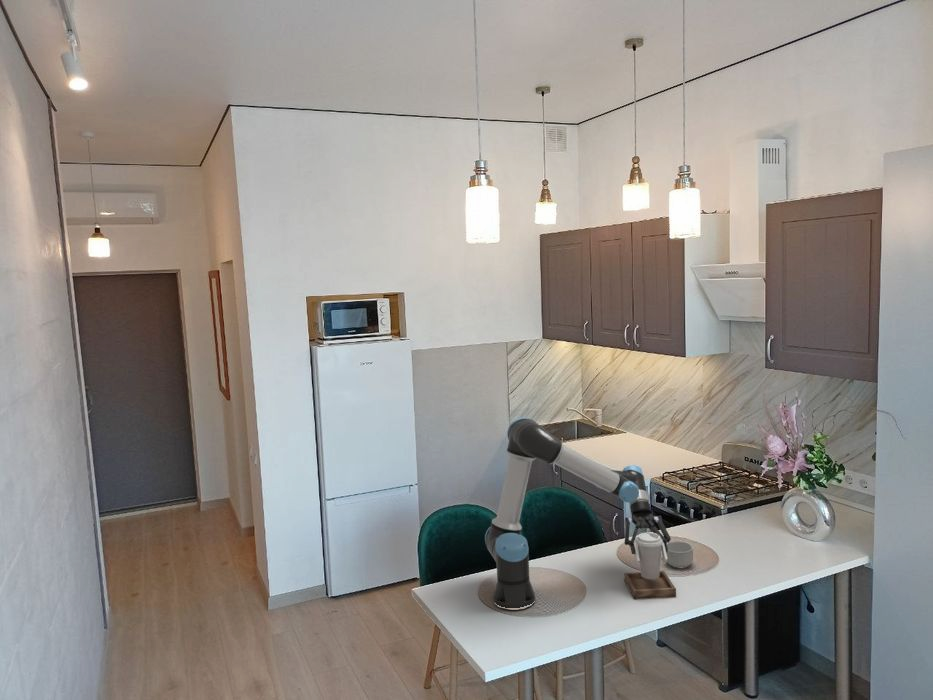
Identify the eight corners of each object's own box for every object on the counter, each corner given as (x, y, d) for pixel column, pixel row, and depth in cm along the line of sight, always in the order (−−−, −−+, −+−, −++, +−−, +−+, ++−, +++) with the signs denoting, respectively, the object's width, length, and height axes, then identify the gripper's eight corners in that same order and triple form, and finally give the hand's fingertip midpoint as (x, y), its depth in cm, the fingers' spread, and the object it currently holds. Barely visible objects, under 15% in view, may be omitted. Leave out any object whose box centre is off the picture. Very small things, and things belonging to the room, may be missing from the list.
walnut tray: (634, 599, 247) (633, 591, 247) (624, 580, 262) (624, 573, 262) (676, 596, 247) (675, 588, 247) (664, 578, 262) (663, 570, 262)
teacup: (699, 567, 270) (699, 547, 269) (676, 573, 266) (676, 553, 265) (676, 554, 283) (675, 535, 282) (654, 560, 279) (653, 541, 278)
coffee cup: (664, 582, 249) (663, 541, 247) (637, 581, 251) (636, 541, 249) (662, 570, 258) (661, 531, 256) (636, 569, 260) (635, 531, 258)
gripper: (666, 507, 267) (680, 563, 253) (609, 510, 267) (620, 567, 253) (670, 498, 261) (684, 555, 247) (612, 501, 261) (623, 559, 247)
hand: (652, 561), depth 250 cm, fingers closed on coffee cup, 9 cm apart
